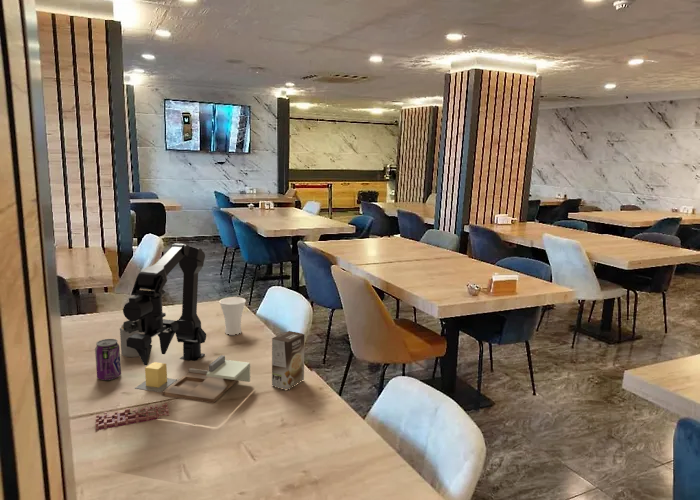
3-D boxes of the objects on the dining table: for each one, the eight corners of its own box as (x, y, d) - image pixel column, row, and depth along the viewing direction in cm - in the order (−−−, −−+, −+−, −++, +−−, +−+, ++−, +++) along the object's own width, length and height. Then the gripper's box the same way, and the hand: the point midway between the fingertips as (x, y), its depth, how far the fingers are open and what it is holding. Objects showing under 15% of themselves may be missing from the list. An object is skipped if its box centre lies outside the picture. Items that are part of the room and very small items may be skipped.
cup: (214, 333, 210) (213, 301, 207) (233, 326, 218) (232, 295, 216) (233, 339, 204) (232, 306, 202) (251, 331, 213) (251, 299, 210)
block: (154, 379, 165) (153, 362, 164) (167, 381, 164) (166, 363, 163) (145, 385, 161) (144, 367, 160) (158, 387, 160) (157, 369, 159)
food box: (287, 391, 161) (287, 342, 158) (271, 386, 164) (271, 338, 161) (304, 380, 169) (305, 333, 166) (288, 376, 172) (288, 330, 169)
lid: (224, 377, 166) (223, 353, 164) (250, 380, 164) (249, 356, 162) (206, 392, 155) (206, 367, 154) (234, 396, 153) (234, 370, 152)
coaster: (152, 377, 168) (152, 376, 168) (177, 381, 166) (177, 379, 166) (134, 389, 160) (134, 388, 159) (160, 393, 157) (160, 391, 157)
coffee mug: (118, 350, 190) (116, 324, 189) (146, 344, 196) (145, 319, 194) (127, 362, 180) (125, 335, 178) (156, 356, 185) (155, 329, 184)
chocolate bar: (171, 418, 144) (171, 411, 144) (96, 431, 137) (95, 425, 136) (169, 406, 151) (168, 400, 150) (96, 419, 143) (96, 412, 143)
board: (190, 374, 171) (190, 367, 170) (238, 381, 167) (238, 374, 167) (162, 396, 156) (162, 388, 155) (213, 404, 152) (213, 396, 151)
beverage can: (112, 383, 164) (109, 347, 162) (92, 380, 165) (89, 344, 163) (125, 373, 171) (123, 339, 168) (106, 371, 172) (104, 337, 170)
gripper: (148, 300, 169) (150, 346, 172) (108, 317, 151) (112, 368, 154) (178, 303, 166) (180, 349, 169) (142, 321, 148) (145, 372, 151)
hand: (154, 359), depth 161 cm, fingers open, 9 cm apart
